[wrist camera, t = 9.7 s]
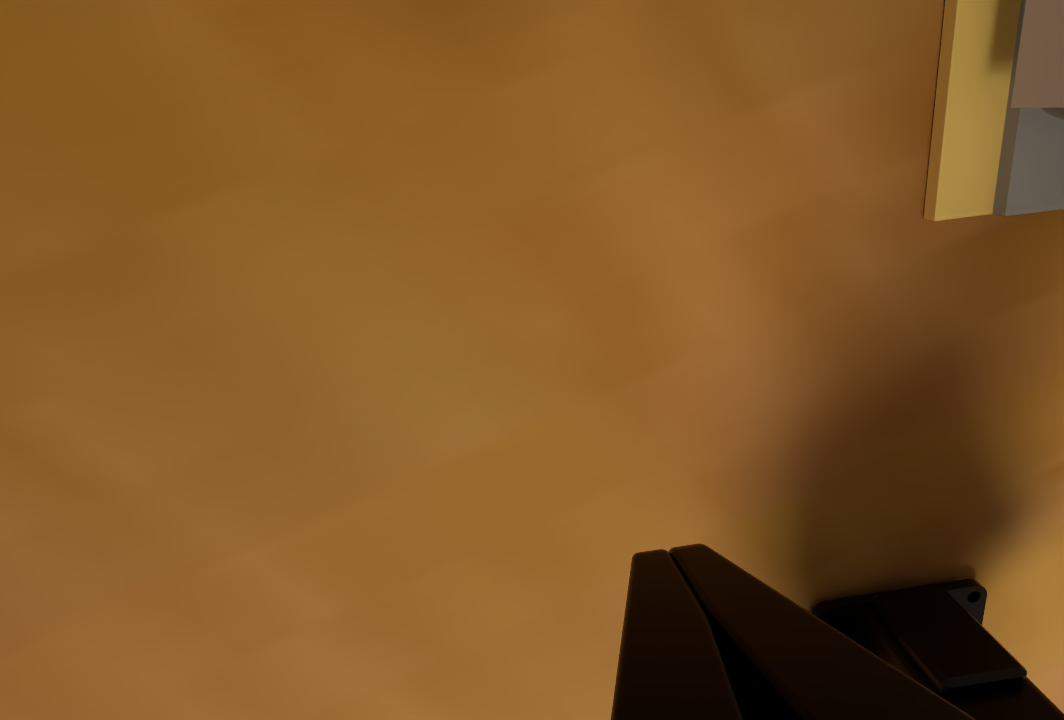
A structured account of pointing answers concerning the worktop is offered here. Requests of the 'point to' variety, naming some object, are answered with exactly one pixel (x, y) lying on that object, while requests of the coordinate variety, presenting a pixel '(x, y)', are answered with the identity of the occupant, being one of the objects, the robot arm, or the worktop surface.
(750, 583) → the robot arm
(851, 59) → the worktop surface
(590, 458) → the worktop surface
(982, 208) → the dock
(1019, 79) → the trolley
